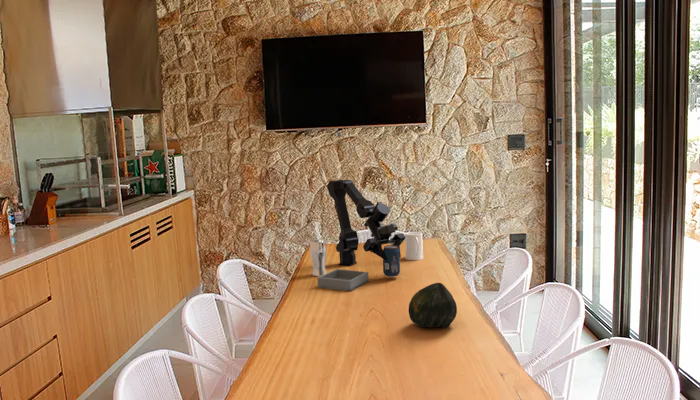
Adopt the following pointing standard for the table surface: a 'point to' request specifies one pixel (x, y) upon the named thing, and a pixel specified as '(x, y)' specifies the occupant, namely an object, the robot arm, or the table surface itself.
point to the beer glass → (318, 256)
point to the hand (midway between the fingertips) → (393, 258)
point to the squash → (433, 307)
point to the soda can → (391, 261)
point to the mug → (414, 245)
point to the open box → (343, 280)
